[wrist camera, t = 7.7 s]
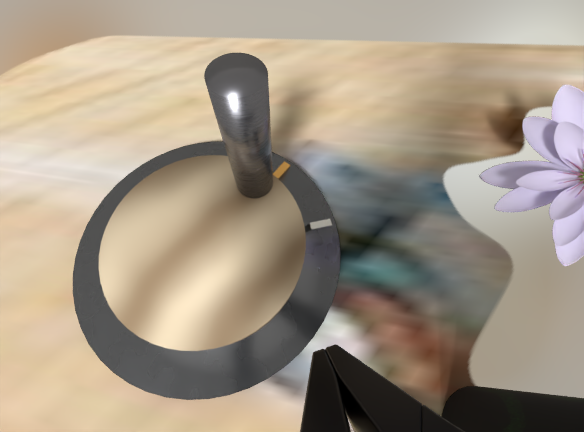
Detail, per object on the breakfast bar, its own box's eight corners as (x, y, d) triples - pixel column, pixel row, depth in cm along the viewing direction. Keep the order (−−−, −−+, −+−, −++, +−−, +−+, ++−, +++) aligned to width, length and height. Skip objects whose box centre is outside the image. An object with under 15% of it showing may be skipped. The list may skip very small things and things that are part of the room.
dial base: (373, 354, 20) (377, 355, 19) (69, 435, 18) (58, 441, 17) (304, 131, 28) (305, 125, 27) (87, 166, 26) (80, 160, 25)
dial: (338, 224, 23) (390, 128, 12) (221, 399, 18) (130, 501, 7) (202, 138, 26) (147, -1, 15) (68, 268, 21) (-163, 197, 10)
